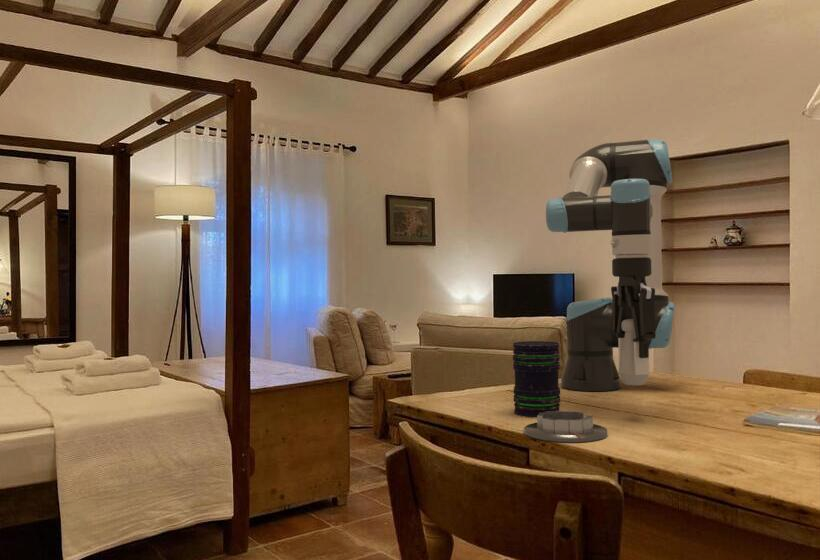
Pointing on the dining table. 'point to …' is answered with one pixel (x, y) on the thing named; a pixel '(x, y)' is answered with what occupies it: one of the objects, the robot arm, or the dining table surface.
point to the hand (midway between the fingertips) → (633, 371)
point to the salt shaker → (629, 356)
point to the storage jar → (536, 377)
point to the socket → (565, 427)
